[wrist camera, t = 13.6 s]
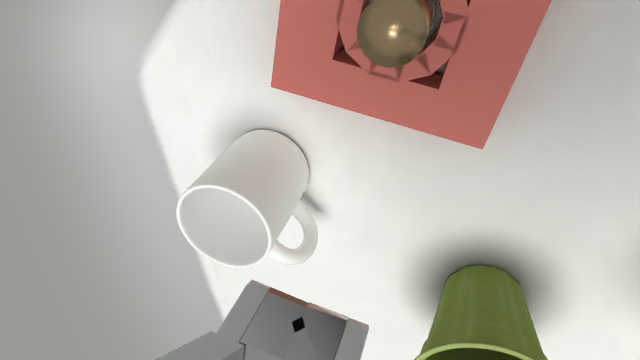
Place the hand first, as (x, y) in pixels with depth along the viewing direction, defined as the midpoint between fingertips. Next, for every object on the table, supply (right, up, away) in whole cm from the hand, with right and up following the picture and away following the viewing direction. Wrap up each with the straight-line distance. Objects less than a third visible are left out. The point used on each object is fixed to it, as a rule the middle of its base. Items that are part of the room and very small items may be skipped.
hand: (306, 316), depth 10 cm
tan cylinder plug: (+7, +16, +21) cm, 27 cm away
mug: (-3, +4, +33) cm, 33 cm away
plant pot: (+17, -8, +33) cm, 38 cm away
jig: (+7, +16, +21) cm, 27 cm away
